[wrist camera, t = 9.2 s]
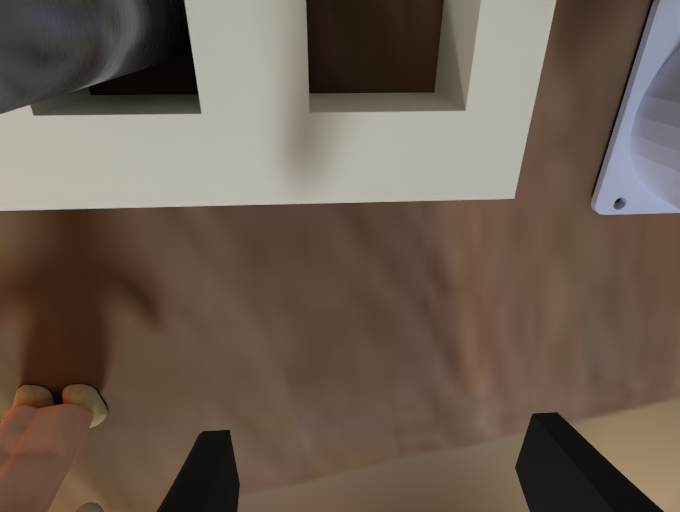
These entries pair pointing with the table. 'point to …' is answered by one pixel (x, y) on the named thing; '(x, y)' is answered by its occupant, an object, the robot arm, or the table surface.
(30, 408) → the grandmother figurine
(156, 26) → the peg
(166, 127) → the hole block
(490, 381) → the table surface
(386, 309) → the table surface
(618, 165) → the robot arm
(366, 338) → the table surface
